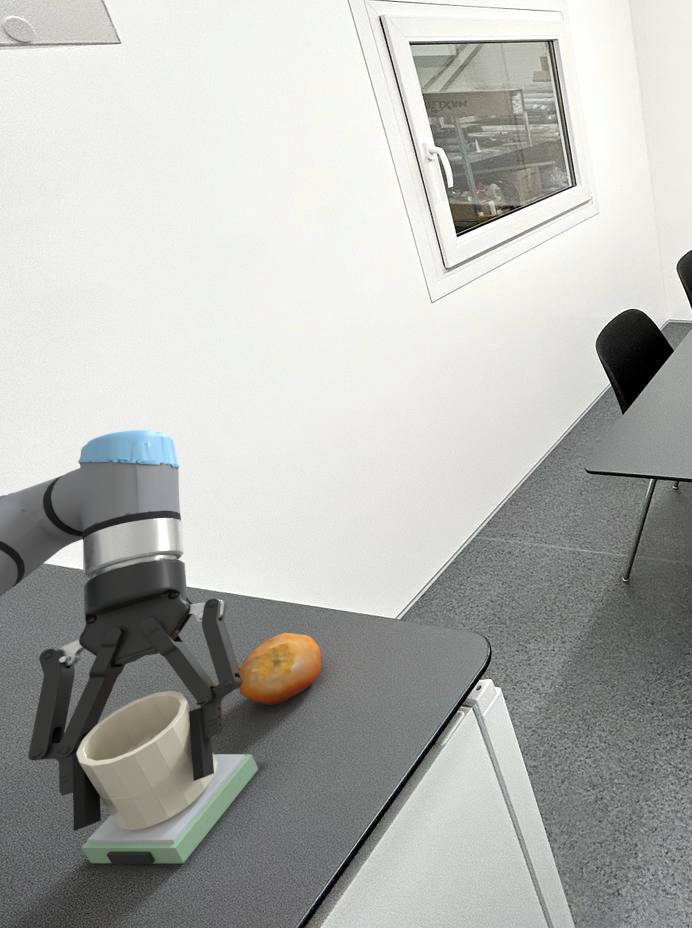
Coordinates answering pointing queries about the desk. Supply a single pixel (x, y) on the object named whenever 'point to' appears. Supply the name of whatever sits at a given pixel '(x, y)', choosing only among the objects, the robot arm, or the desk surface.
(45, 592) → the desk surface
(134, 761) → the cream faceted cup
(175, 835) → the scale
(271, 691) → the fruit
